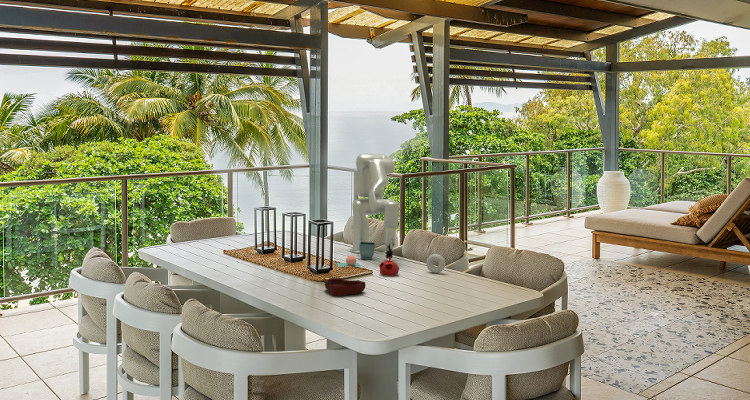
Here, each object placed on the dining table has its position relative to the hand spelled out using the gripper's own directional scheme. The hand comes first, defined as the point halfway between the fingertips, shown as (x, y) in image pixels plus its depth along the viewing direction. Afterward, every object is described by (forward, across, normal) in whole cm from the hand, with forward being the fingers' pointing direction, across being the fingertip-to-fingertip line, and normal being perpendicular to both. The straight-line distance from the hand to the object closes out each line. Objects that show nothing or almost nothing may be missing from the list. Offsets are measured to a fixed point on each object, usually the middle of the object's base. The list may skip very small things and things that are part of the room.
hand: (389, 258), depth 357 cm
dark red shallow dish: (+3, +62, -30) cm, 69 cm away
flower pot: (+5, -18, -10) cm, 21 cm away
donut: (+3, +19, +21) cm, 29 cm away
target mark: (+4, +1, -22) cm, 22 cm away
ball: (+1, +1, -20) cm, 21 cm away
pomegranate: (+4, +24, -4) cm, 25 cm away
